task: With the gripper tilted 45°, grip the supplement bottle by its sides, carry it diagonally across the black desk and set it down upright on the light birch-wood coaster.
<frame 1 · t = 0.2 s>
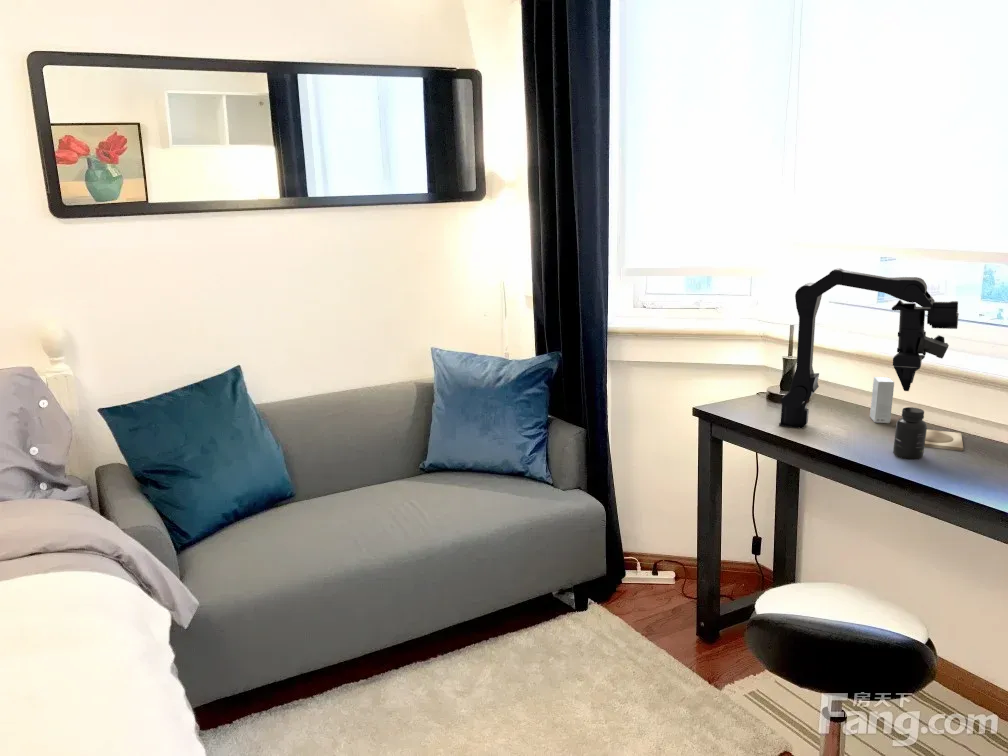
hand: (908, 386, 207), 14 cm above the table, tool pointing down, fingers open, 9 cm apart
skincare box: (879, 420, 227), on the table
birch coaster: (933, 440, 210), on the table
supplement bottle: (907, 456, 199), on the table
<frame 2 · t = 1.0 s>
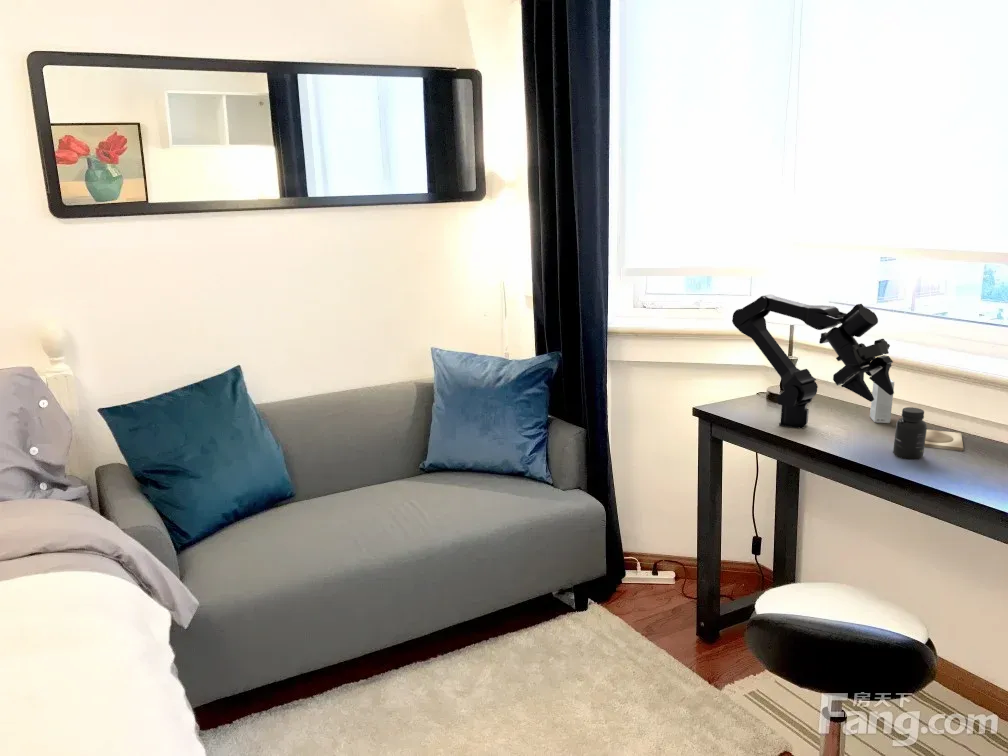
hand: (882, 397, 202), 13 cm above the table, tool tilted 45°, fingers open, 9 cm apart
nothing on the table moved.
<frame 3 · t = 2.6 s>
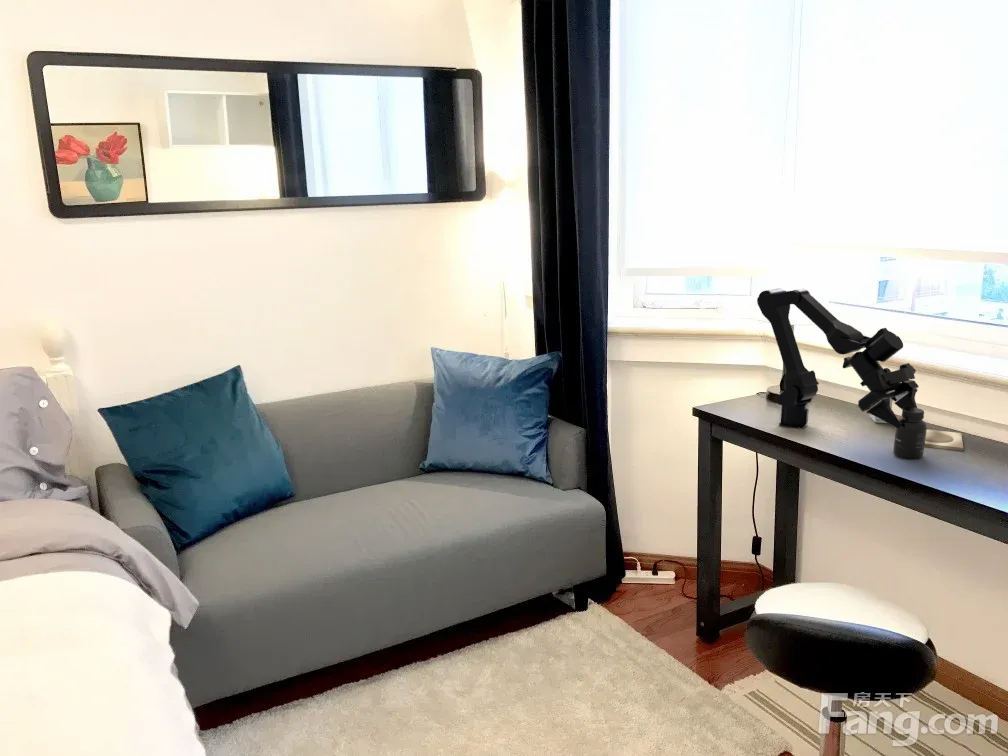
hand: (909, 423, 197), 8 cm above the table, tool tilted 45°, fingers open, 9 cm apart
nothing on the table moved.
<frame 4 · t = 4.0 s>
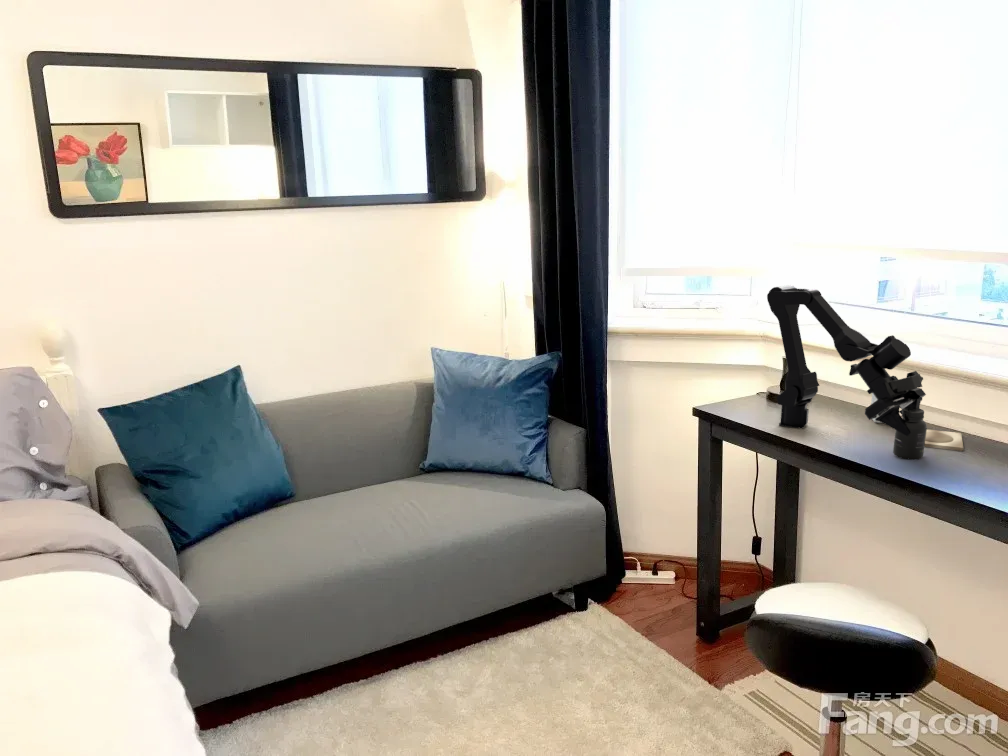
hand: (916, 432, 196), 7 cm above the table, tool tilted 45°, fingers closed on supplement bottle, 7 cm apart
supplement bottle: (907, 456, 199), on the table, touching gripper
everything else where it was.
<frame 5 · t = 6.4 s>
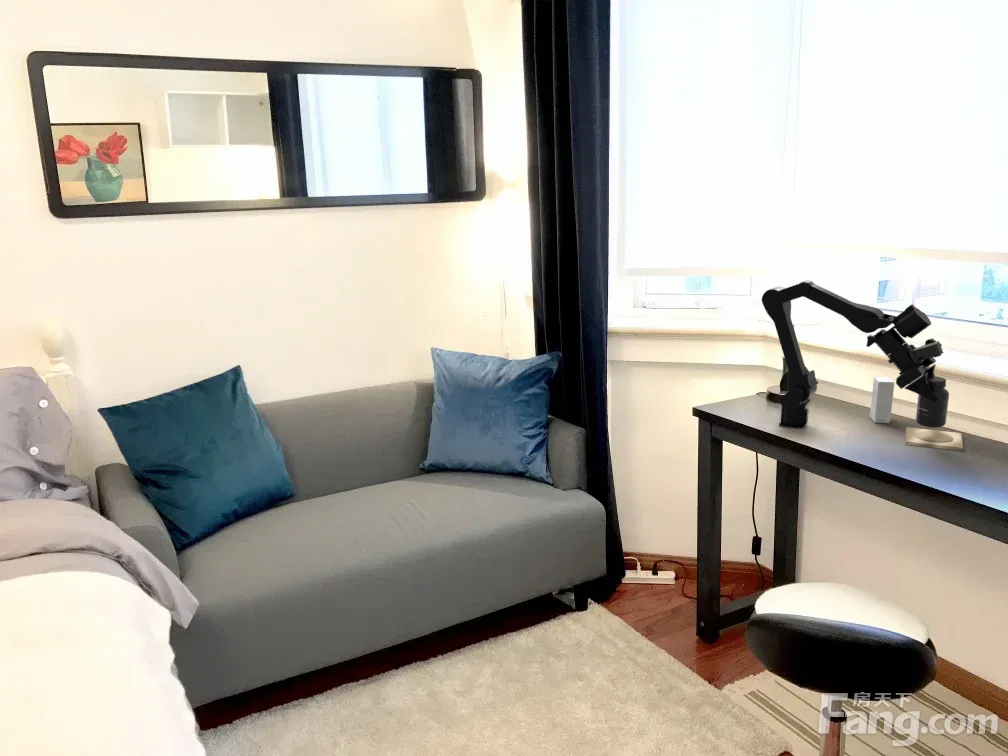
hand: (939, 397, 201), 13 cm above the table, tool tilted 45°, fingers closed on supplement bottle, 7 cm apart
supplement bottle: (930, 424, 203), point 6 cm above the table, touching gripper
everything else where it was.
when the fingers open (9 cm above the table, at t = 8.9 s): supplement bottle stays where it is, resting on birch coaster.
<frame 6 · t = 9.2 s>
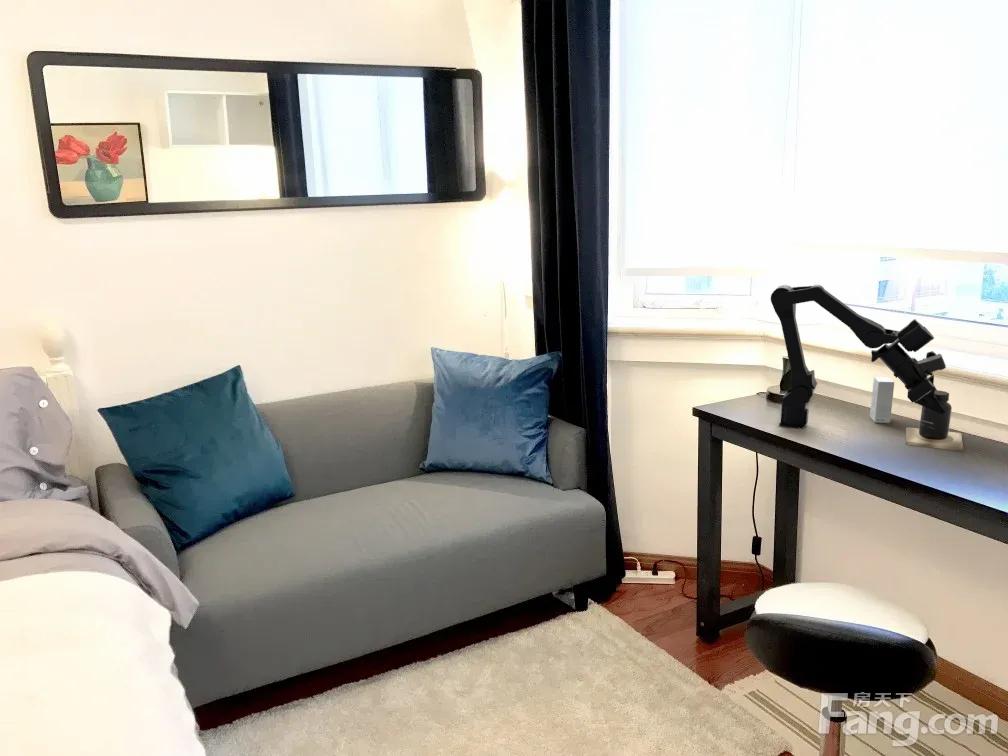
hand: (943, 408, 207), 9 cm above the table, tool tilted 45°, fingers open, 9 cm apart
supplement bottle: (933, 437, 210), point 1 cm above the table, touching birch coaster
everything else where it was.
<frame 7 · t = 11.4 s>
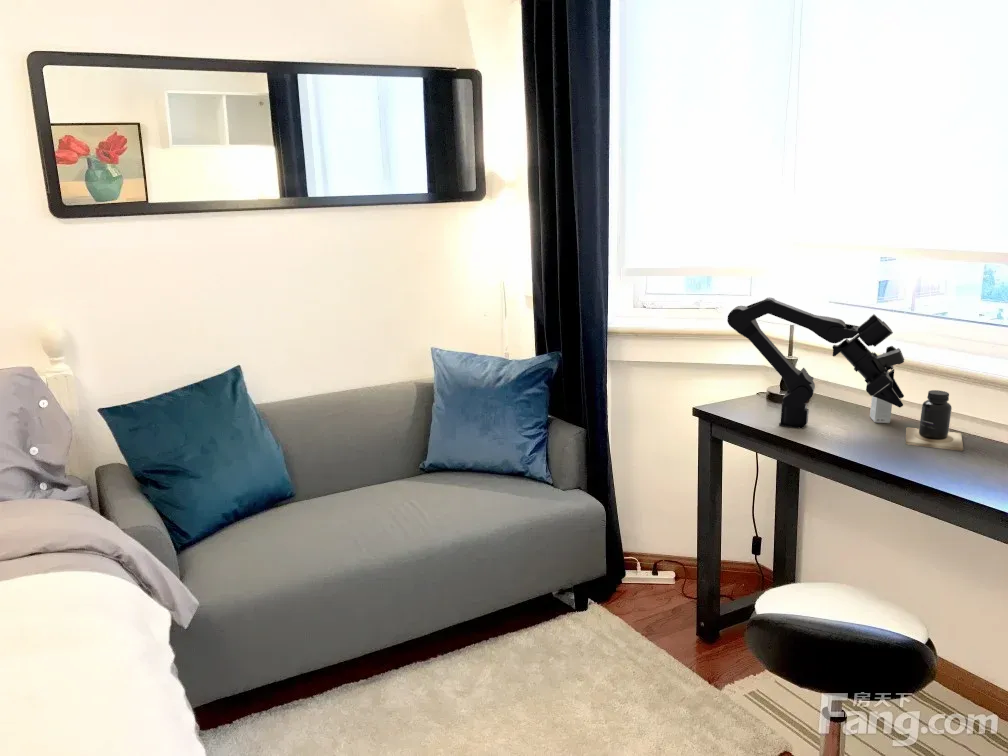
hand: (902, 401, 211), 9 cm above the table, tool tilted 45°, fingers open, 9 cm apart
nothing on the table moved.
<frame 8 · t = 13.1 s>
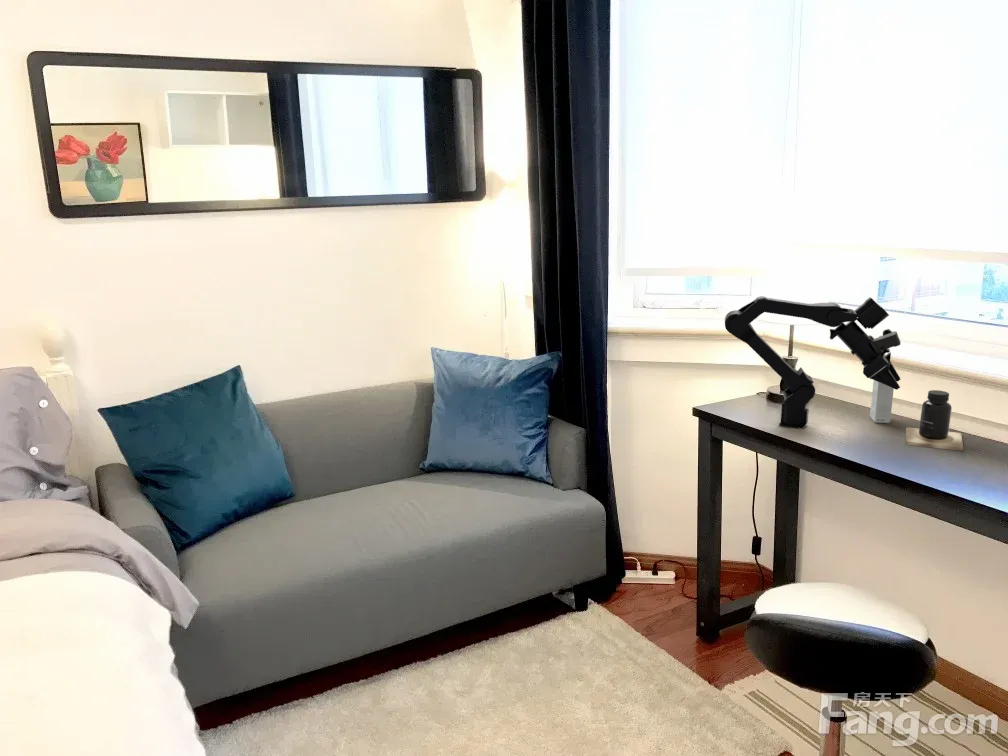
hand: (898, 384, 213), 14 cm above the table, tool tilted 45°, fingers open, 9 cm apart
nothing on the table moved.
at the end: supplement bottle inside the target area on the birch coaster (0.4 cm from its centre), point 0.7 cm above the birch coaster's base; supplement bottle tilted 0°; the gripper is holding nothing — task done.
